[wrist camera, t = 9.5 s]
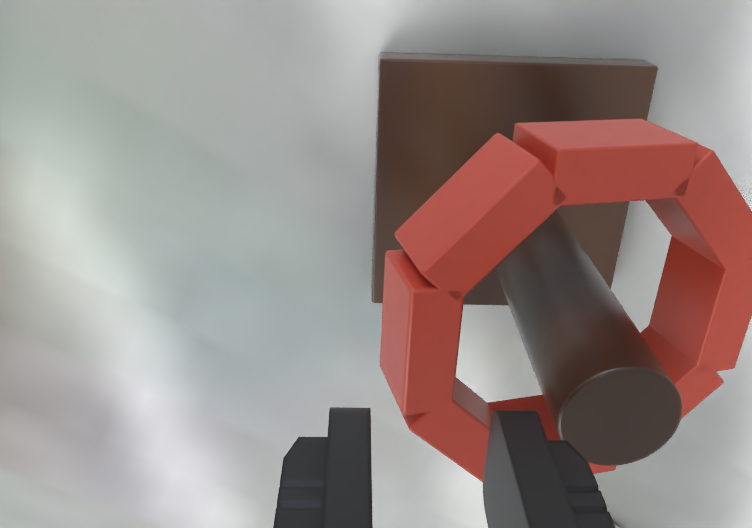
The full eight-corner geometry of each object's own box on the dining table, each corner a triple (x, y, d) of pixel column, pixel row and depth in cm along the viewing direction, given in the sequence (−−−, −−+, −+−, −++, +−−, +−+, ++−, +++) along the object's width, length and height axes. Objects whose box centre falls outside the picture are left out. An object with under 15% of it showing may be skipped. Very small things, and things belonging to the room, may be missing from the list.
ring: (374, 453, 18) (396, 510, 16) (389, 126, 14) (420, 155, 12) (660, 408, 20) (706, 454, 18) (743, 114, 16) (811, 138, 14)
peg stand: (371, 288, 27) (378, 578, 15) (378, 51, 23) (396, 194, 11) (597, 292, 27) (780, 581, 15) (645, 59, 23) (945, 207, 11)
